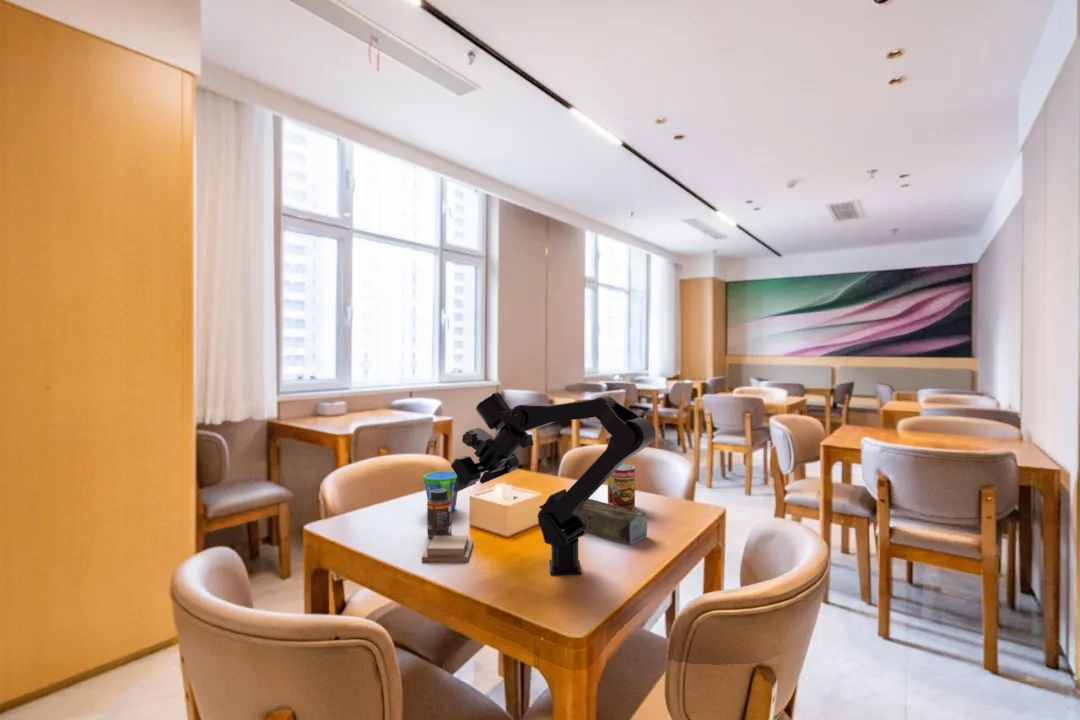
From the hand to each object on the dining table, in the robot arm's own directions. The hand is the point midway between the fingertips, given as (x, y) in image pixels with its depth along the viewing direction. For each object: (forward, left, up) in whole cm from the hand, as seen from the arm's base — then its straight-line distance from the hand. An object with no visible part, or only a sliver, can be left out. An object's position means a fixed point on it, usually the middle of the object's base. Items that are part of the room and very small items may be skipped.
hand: (468, 486), depth 125 cm
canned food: (+27, -41, -14) cm, 51 cm away
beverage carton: (+7, -34, -14) cm, 38 cm away
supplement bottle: (+5, +8, -14) cm, 16 cm away
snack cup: (+26, +11, -14) cm, 31 cm away
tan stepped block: (-6, +4, -13) cm, 15 cm away
